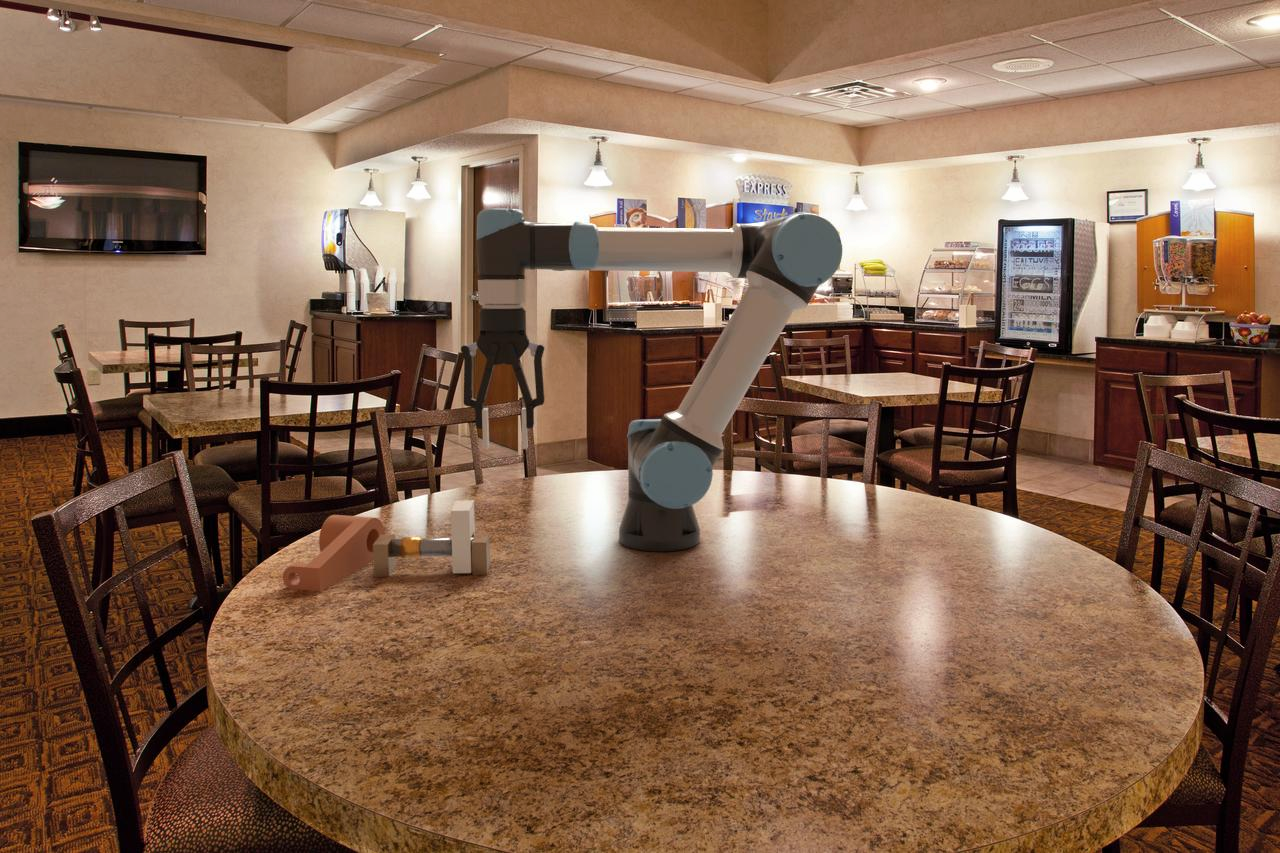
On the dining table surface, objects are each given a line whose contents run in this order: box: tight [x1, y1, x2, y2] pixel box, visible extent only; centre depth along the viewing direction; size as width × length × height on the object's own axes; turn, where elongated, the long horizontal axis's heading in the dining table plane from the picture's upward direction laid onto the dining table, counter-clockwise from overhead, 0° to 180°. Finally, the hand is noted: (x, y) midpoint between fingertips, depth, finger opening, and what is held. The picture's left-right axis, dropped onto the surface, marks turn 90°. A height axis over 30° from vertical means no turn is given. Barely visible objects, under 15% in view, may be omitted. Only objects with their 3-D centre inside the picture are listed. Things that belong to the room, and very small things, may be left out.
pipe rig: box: [373, 532, 491, 578], centre depth 156 cm, size 18×6×6 cm, turn 94°
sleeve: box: [450, 499, 476, 574], centre depth 156 cm, size 3×7×11 cm, turn 4°
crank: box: [282, 514, 386, 592], centre depth 156 cm, size 20×8×8 cm, turn 165°
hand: (505, 447), depth 154 cm, fingers open, 6 cm apart
